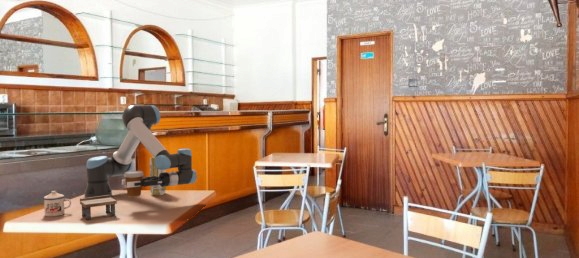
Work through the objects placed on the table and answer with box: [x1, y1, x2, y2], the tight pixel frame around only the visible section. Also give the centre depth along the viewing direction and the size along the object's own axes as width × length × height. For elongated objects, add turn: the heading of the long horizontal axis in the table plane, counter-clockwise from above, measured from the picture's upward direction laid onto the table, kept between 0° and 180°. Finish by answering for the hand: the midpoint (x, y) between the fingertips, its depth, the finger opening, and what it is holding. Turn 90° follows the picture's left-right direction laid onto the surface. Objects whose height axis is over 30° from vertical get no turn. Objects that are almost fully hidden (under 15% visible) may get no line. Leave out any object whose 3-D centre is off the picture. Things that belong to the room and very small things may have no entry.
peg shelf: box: [79, 195, 118, 221], centre depth 210 cm, size 12×14×8 cm
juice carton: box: [149, 156, 167, 196], centre depth 262 cm, size 9×8×24 cm
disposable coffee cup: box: [123, 170, 144, 197], centre depth 222 cm, size 10×10×12 cm
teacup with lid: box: [43, 190, 72, 217], centre depth 214 cm, size 12×9×12 cm
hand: (124, 183), depth 219 cm, fingers closed on disposable coffee cup, 8 cm apart
